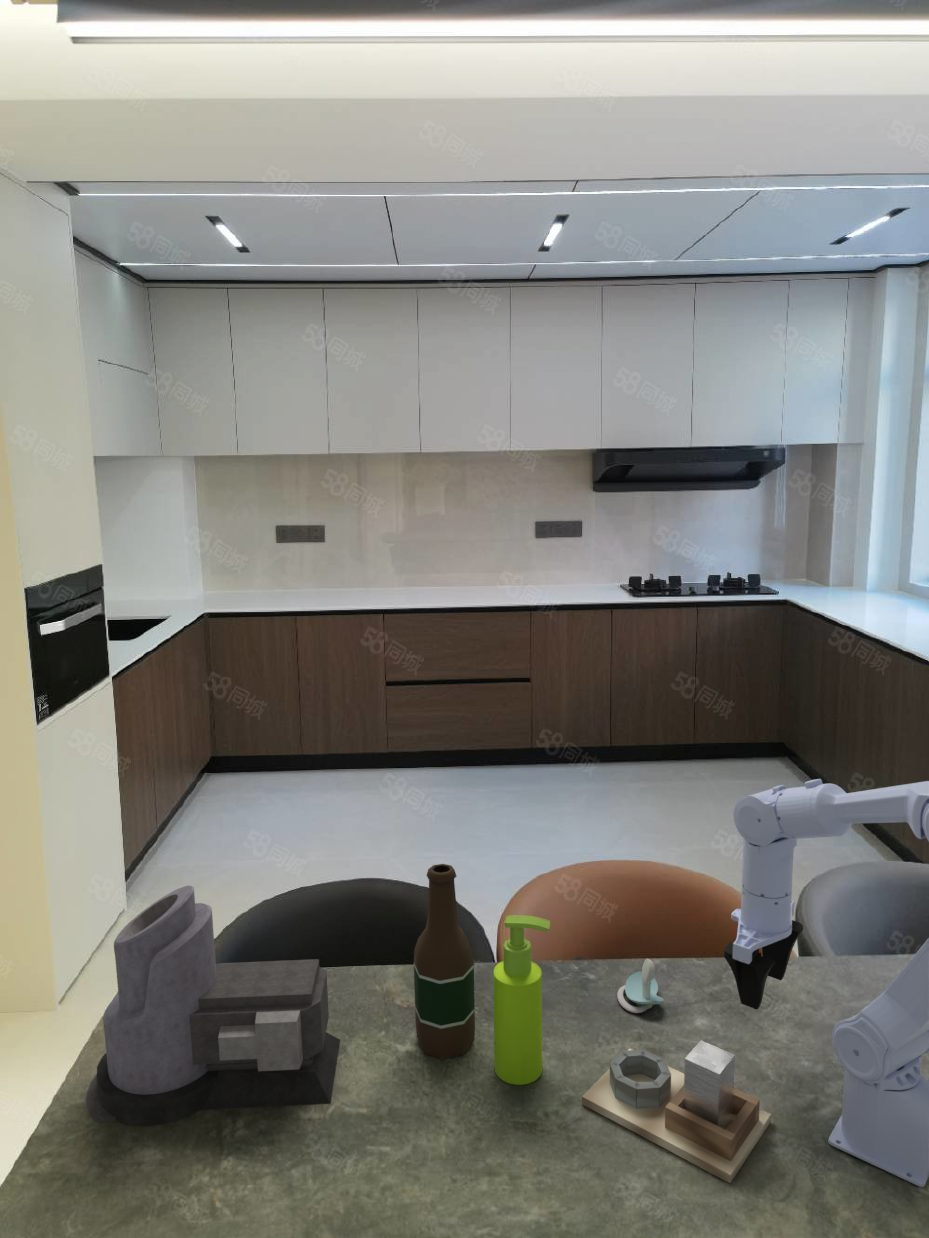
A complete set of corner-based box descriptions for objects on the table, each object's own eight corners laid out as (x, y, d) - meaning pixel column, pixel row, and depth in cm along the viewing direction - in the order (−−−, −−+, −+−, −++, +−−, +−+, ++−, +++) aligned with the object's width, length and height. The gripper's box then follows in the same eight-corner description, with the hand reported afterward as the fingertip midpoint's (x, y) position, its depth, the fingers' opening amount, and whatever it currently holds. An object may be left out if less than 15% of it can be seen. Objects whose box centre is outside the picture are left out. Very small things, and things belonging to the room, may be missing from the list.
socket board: (770, 1121, 96) (771, 1094, 96) (730, 1183, 88) (731, 1153, 87) (629, 1055, 108) (629, 1030, 107) (582, 1104, 100) (582, 1077, 99)
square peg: (732, 1119, 95) (734, 1054, 94) (717, 1140, 92) (719, 1074, 91) (699, 1103, 98) (700, 1040, 97) (683, 1123, 95) (684, 1058, 94)
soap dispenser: (547, 1088, 102) (547, 934, 99) (491, 1081, 104) (488, 928, 100) (552, 1056, 108) (552, 909, 105) (498, 1050, 109) (496, 904, 106)
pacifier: (622, 1019, 116) (667, 1017, 116) (621, 976, 115) (666, 974, 115) (613, 987, 123) (654, 985, 123) (611, 947, 122) (653, 945, 122)
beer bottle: (477, 1023, 115) (474, 855, 111) (472, 1062, 107) (469, 883, 103) (420, 1021, 116) (415, 854, 112) (411, 1059, 108) (405, 881, 104)
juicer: (64, 1130, 97) (43, 931, 93) (115, 1039, 113) (99, 866, 109) (329, 1117, 98) (319, 920, 94) (342, 1029, 114) (334, 857, 110)
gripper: (757, 857, 111) (753, 954, 113) (709, 900, 100) (706, 1005, 102) (813, 872, 106) (808, 973, 109) (768, 919, 96) (764, 1029, 98)
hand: (762, 990), depth 105 cm, fingers open, 7 cm apart
